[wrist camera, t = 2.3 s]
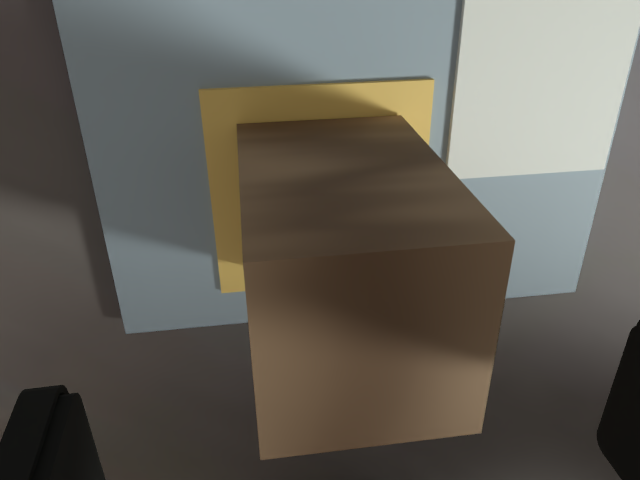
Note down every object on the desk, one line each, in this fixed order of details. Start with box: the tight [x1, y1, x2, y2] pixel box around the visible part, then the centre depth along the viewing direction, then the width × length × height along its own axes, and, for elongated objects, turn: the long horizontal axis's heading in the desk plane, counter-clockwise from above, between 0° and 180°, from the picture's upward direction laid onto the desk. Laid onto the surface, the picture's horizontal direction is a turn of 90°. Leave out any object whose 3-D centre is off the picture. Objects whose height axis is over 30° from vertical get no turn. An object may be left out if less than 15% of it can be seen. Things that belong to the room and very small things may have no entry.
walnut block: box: [237, 115, 515, 460], centre depth 15 cm, size 5×5×8 cm
